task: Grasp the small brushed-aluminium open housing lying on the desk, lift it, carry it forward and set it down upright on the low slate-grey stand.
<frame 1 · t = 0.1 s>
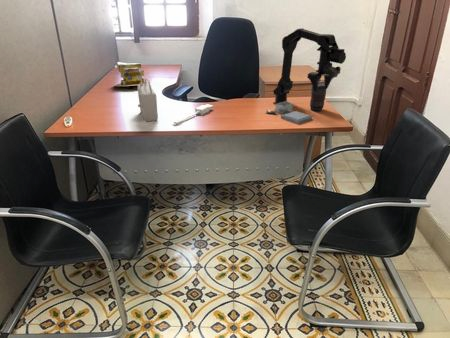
hand: (320, 90, 188), 15 cm above the table, fingers open, 9 cm apart
loose bolt: (270, 113, 198), on the table
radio: (147, 116, 193), on the table
housing: (283, 112, 201), on the table
charging cable: (193, 117, 194), on the table
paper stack: (131, 86, 249), on the table
camera lens: (316, 110, 205), on the table
stand: (296, 118, 191), on the table
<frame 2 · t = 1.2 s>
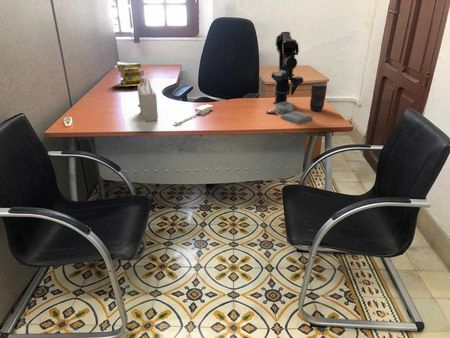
hand: (285, 93, 195), 11 cm above the table, fingers open, 9 cm apart
nothing on the table moved.
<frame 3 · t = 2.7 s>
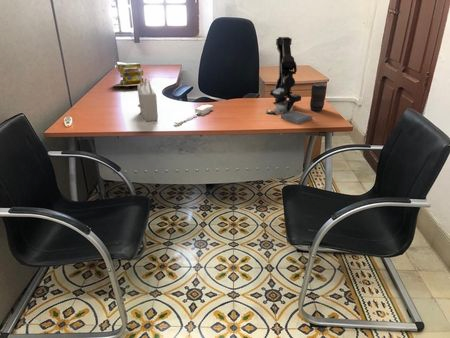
hand: (284, 110, 200), 1 cm above the table, fingers closed on housing, 6 cm apart
housing: (283, 112, 201), on the table, touching gripper
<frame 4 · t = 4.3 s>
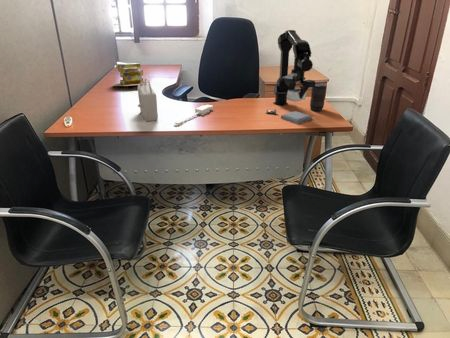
hand: (296, 97, 186), 12 cm above the table, fingers closed on housing, 6 cm apart
housing: (296, 99, 187), point 10 cm above the table, touching gripper
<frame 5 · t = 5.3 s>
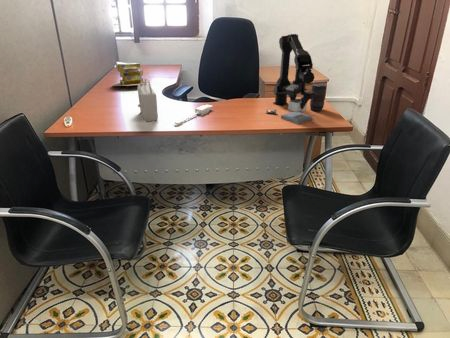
hand: (297, 107, 188), 6 cm above the table, fingers closed on housing, 6 cm apart
housing: (297, 109, 188), point 5 cm above the table, touching gripper
when the fingers open (4 cm above the table, at t = 6.1 s): housing stays where it is, resting on stand.
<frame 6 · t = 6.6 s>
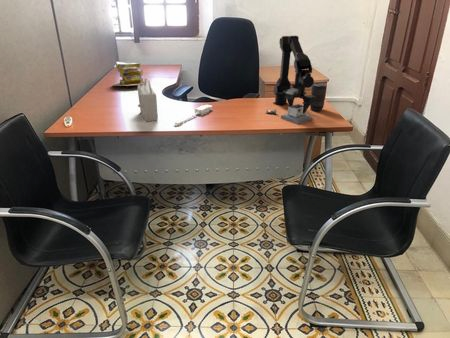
hand: (297, 111, 189), 4 cm above the table, fingers open, 9 cm apart
housing: (296, 115, 190), point 2 cm above the table, touching stand
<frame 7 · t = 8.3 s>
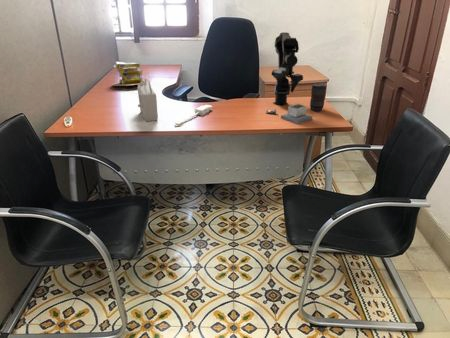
hand: (285, 90, 197), 12 cm above the table, fingers open, 9 cm apart
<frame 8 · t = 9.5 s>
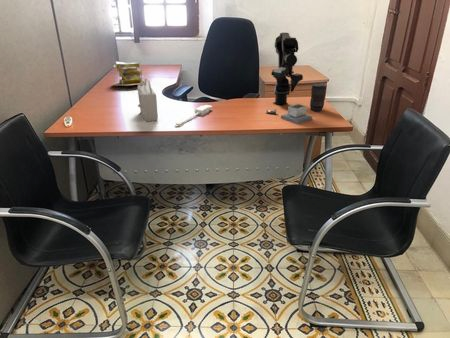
hand: (285, 90, 197), 12 cm above the table, fingers open, 9 cm apart
at the end: housing inside the target area on the stand (0.0 cm from its centre), point 2.0 cm above the stand's base; housing tilted 0°; the gripper is holding nothing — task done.
